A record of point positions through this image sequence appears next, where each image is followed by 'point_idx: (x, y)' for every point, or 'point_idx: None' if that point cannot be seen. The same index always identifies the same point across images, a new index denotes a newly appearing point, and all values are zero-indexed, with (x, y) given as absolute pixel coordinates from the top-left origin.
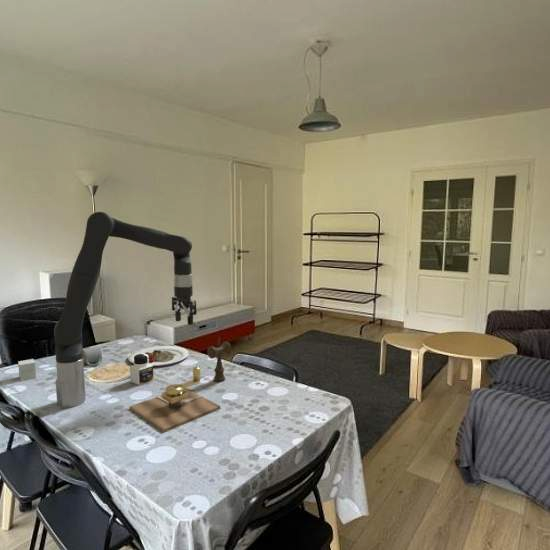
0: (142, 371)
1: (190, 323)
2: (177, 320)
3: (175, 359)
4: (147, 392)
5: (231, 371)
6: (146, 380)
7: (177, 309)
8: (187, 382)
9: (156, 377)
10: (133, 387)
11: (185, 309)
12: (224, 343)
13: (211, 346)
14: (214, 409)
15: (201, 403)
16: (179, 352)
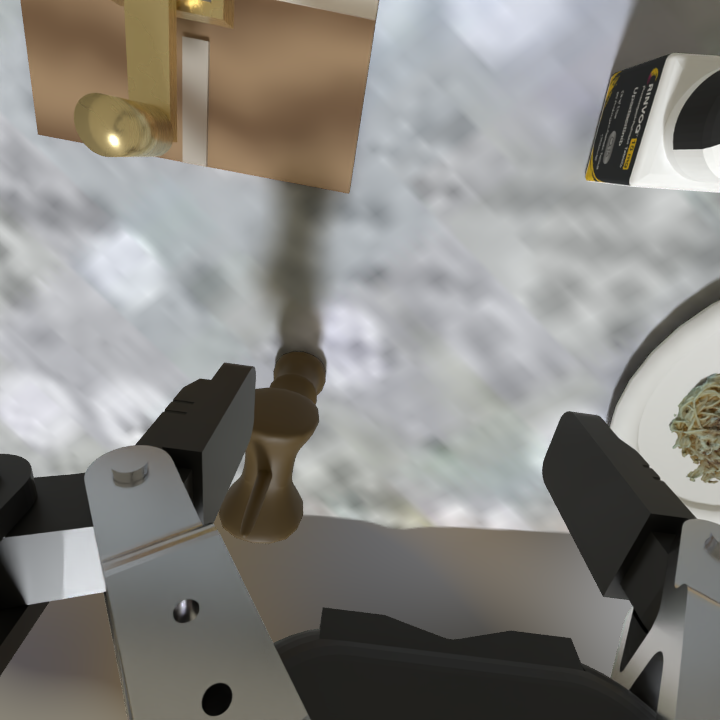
0: (649, 86)
1: (195, 386)
2: (567, 429)
3: (657, 437)
4: (498, 31)
5: (325, 461)
6: (604, 126)
7: (667, 604)
8: (159, 56)
9: (597, 221)
10: (630, 27)
11: (132, 580)
12: (259, 523)
13: (263, 436)
14: (36, 93)
15: (124, 96)
16: (693, 504)
